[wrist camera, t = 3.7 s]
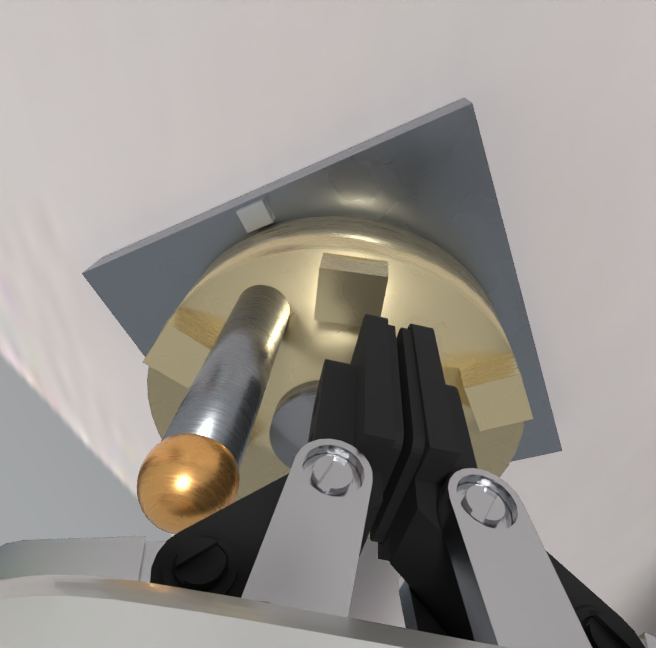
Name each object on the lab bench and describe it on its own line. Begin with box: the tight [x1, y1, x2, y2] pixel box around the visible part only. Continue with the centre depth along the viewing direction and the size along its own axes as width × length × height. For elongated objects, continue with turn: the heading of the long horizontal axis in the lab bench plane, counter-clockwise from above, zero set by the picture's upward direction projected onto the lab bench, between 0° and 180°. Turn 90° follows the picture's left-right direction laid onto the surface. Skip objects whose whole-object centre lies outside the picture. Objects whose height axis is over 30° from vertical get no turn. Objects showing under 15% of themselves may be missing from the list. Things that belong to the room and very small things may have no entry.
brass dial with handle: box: [137, 216, 533, 538], centre depth 14 cm, size 13×13×10 cm
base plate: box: [82, 98, 562, 462], centre depth 19 cm, size 15×15×2 cm
